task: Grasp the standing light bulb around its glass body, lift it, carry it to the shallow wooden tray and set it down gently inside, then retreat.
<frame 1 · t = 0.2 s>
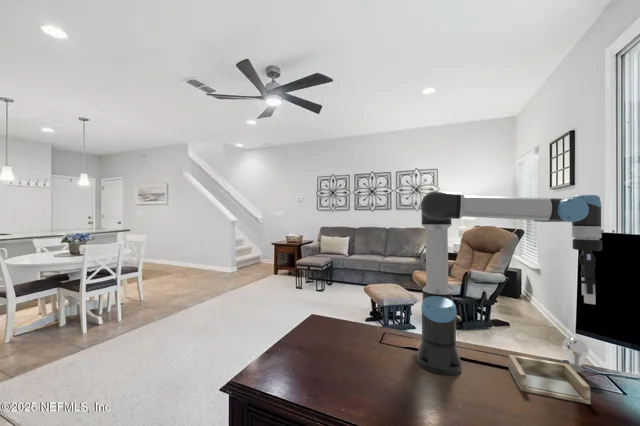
hand: (588, 299, 97), 26 cm above the table, fingers open, 13 cm apart
shallow wooden tray: (545, 384, 90), on the table
light bulb: (575, 372, 98), on the table
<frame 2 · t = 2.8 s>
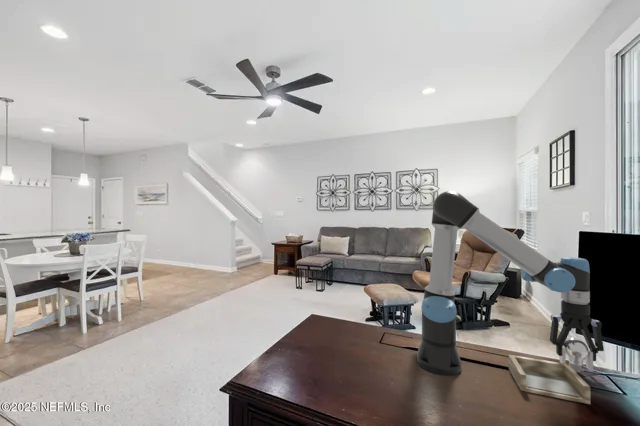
hand: (575, 367, 97), 2 cm above the table, fingers closed on light bulb, 7 cm apart
light bulb: (575, 372, 98), on the table, touching gripper
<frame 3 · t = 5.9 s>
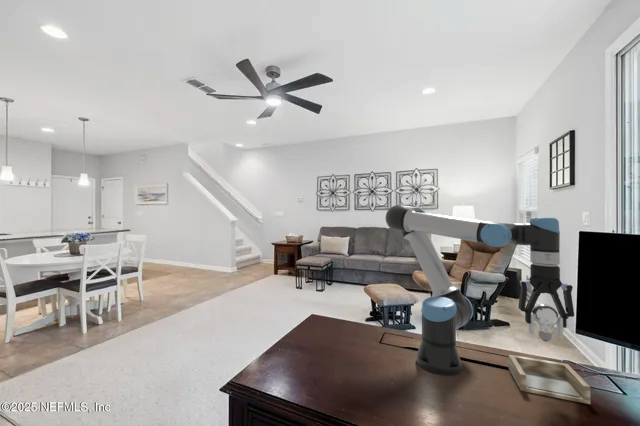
hand: (545, 335, 90), 16 cm above the table, fingers closed on light bulb, 7 cm apart
light bulb: (545, 341, 90), point 14 cm above the table, touching gripper
when the fingers open (5 cm above the table, at t = 8.5 s): light bulb drops 2 cm, resting on shallow wooden tray.
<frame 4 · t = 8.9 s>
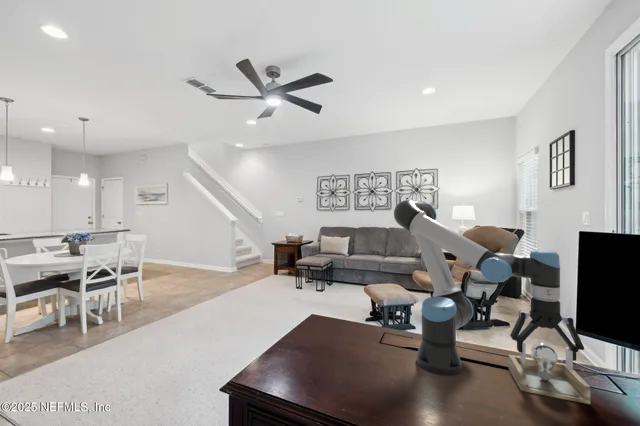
hand: (545, 366, 90), 6 cm above the table, fingers open, 11 cm apart
light bulb: (544, 381, 90), point 1 cm above the table, touching shallow wooden tray
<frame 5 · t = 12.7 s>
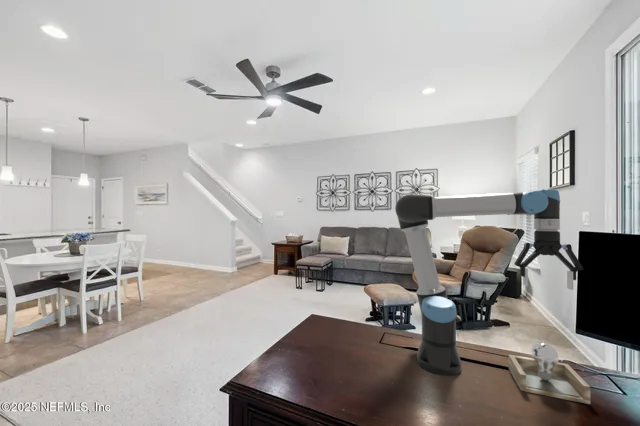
hand: (547, 287, 103), 29 cm above the table, fingers open, 13 cm apart
nothing on the table moved.
at the end: light bulb inside the target area on the shallow wooden tray (0.7 cm from its centre), point 1.1 cm above the shallow wooden tray's base; light bulb tilted 0°; the gripper is holding nothing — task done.
